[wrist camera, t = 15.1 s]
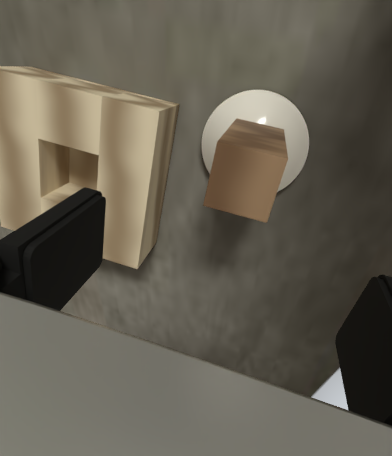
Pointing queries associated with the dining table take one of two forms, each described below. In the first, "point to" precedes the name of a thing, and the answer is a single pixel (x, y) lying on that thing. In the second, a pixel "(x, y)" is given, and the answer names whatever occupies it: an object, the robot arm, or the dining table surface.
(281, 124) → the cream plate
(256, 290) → the dining table surface
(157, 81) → the dining table surface
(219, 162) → the walnut peg
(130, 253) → the birch pocket block
